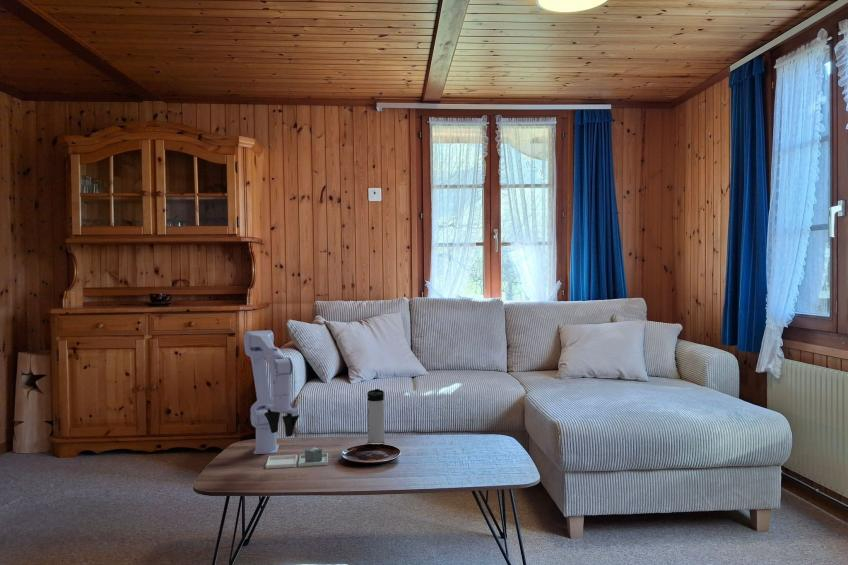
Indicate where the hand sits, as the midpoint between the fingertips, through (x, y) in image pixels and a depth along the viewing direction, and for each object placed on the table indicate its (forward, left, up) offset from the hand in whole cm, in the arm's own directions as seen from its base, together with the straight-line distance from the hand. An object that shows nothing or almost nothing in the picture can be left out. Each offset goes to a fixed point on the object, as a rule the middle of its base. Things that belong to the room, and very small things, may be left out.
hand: (281, 434), depth 189 cm
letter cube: (0, +10, -10) cm, 14 cm away
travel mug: (-17, +33, -10) cm, 39 cm away
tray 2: (0, +10, -10) cm, 14 cm away
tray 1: (0, 0, -10) cm, 10 cm away
